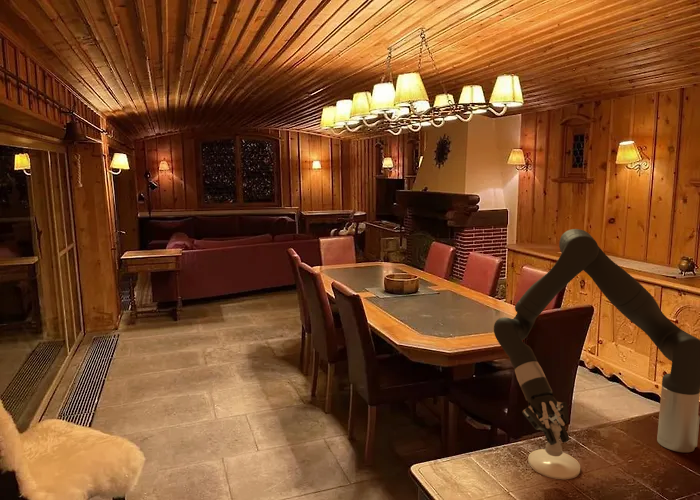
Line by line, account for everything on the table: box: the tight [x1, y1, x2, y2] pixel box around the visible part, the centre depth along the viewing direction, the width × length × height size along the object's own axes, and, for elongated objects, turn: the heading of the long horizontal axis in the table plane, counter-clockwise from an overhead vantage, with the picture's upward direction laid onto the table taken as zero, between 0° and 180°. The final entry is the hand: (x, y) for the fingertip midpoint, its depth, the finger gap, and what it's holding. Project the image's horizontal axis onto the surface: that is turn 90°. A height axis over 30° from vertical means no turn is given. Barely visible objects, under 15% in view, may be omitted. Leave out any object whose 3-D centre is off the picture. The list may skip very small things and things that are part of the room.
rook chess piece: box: [544, 422, 564, 456], centre depth 135 cm, size 4×4×8 cm
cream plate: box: [527, 448, 581, 480], centre depth 136 cm, size 13×13×1 cm
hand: (559, 442), depth 134 cm, fingers closed on rook chess piece, 3 cm apart
